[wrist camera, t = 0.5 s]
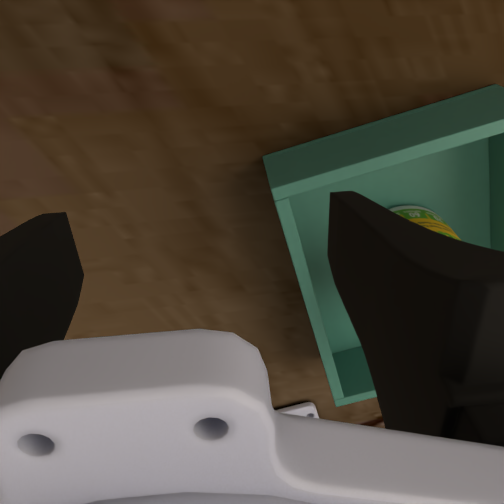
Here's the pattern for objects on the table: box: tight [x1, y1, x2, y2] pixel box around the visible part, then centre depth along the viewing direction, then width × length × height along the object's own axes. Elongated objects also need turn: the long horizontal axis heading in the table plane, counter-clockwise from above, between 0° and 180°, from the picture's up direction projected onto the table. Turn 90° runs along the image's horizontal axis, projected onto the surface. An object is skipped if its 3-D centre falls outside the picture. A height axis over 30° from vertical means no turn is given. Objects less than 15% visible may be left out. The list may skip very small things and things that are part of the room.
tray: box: [263, 84, 504, 407], centre depth 24 cm, size 14×11×4 cm
